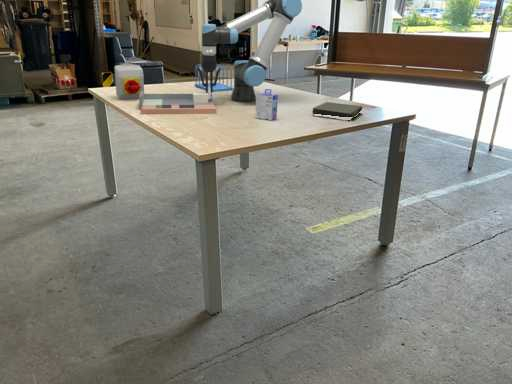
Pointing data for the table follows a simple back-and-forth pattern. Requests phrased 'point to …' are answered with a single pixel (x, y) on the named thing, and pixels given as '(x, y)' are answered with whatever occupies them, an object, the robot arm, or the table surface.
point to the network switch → (337, 109)
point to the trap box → (173, 104)
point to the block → (200, 97)
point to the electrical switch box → (129, 81)
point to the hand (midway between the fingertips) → (209, 98)
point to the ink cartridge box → (266, 105)
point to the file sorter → (218, 86)
